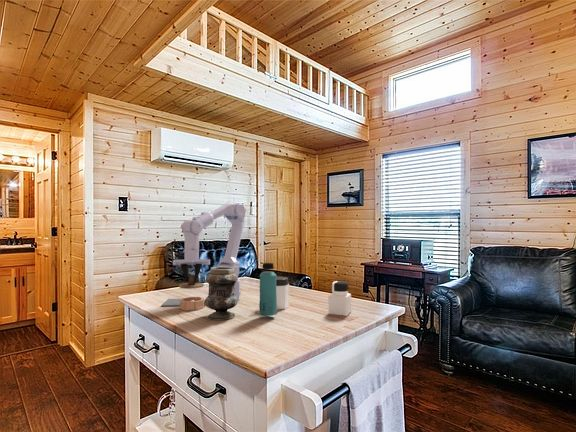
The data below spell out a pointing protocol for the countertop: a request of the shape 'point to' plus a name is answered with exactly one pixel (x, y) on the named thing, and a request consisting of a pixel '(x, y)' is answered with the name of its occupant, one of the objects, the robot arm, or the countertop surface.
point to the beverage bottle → (268, 291)
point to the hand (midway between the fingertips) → (191, 282)
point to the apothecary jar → (221, 292)
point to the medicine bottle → (340, 299)
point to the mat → (171, 303)
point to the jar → (282, 292)
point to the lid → (191, 283)
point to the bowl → (192, 303)
